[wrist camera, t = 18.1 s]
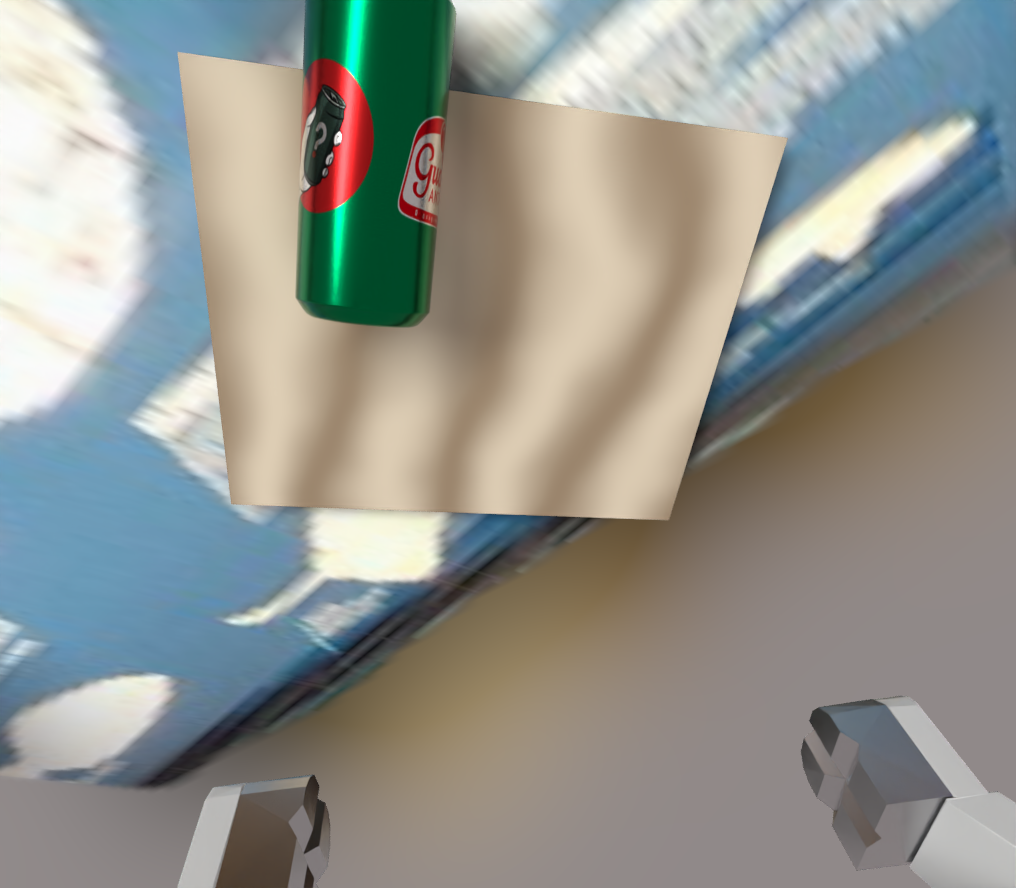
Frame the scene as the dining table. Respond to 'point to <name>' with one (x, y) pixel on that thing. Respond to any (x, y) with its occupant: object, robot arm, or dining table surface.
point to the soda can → (372, 157)
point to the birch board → (478, 308)
